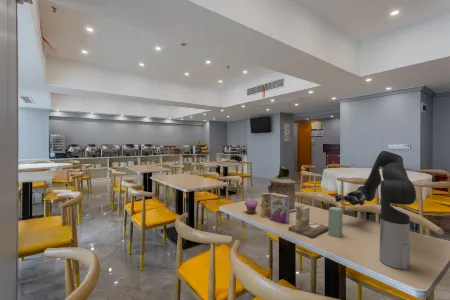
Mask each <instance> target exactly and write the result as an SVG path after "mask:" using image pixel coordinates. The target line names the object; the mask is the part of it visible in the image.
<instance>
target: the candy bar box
mask: <svg viewBox="0 0 450 300" xmlns="http://www.w3.org/2000/svg"><path fill="white" fill-rule="evenodd" d="M289 208H290V196H287V195H281V194H276V193H273V194H270V217H269V220H270V221H274V222H276V223H277V222H278V223H281V224H284V225H287V224H289V223H290V212H289Z"/></svg>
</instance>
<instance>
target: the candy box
mask: <svg viewBox="0 0 450 300" xmlns="http://www.w3.org/2000/svg"><path fill="white" fill-rule="evenodd" d="M270 194H273V193H269V192H261V203H262V204H261V217H262V218H270Z"/></svg>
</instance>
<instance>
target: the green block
mask: <svg viewBox="0 0 450 300" xmlns="http://www.w3.org/2000/svg"><path fill="white" fill-rule="evenodd" d="M343 210H344V208H341V207H337V206H331V207H329V208H328V222H327V223H328V231H327V235H329V236H332V237H334V238H337V239H338V238H340V237H342V236H343V219H344V218H343V216H344V214H343V213H344V211H343Z"/></svg>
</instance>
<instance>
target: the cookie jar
mask: <svg viewBox="0 0 450 300" xmlns="http://www.w3.org/2000/svg"><path fill="white" fill-rule="evenodd" d="M289 176H290V169H289V168H287V167H284V166H281V165H279V171H278V175H277V176H274V177H273V178H272V177H271V179H270V181H269V182H270V184H268V186H267V190H268V193H276V194H281V195H287V196H290V208H289V213H290V212H296V207H297V206H298V204H296V189H295V185H296V183H297V182H296V181H295V180H292V179H291V178H290V177H289ZM259 204H260V205H262V202H259Z"/></svg>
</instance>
